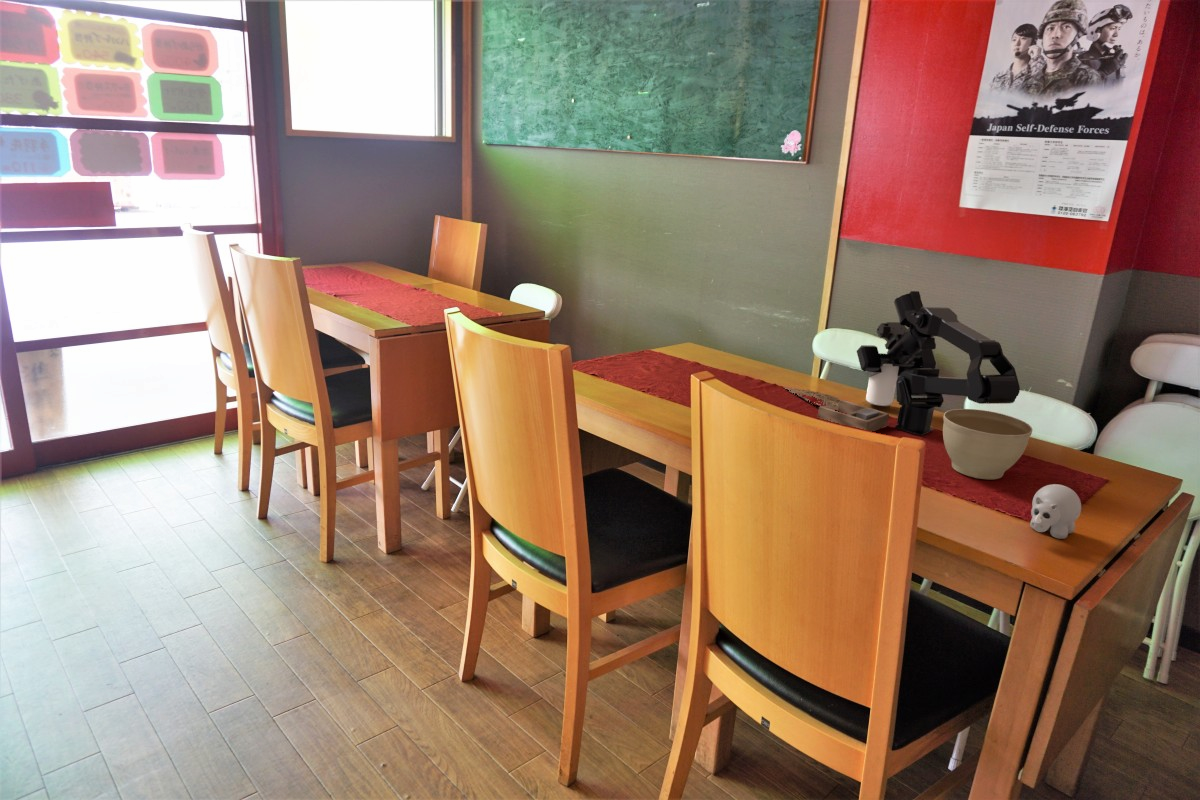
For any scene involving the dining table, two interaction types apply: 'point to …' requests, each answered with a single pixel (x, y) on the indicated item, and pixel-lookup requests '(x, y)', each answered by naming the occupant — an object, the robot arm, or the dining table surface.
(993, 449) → the planter bowl
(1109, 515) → the dining table surface
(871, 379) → the can
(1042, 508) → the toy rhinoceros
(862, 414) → the grey block
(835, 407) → the wooden fragment
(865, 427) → the tray
